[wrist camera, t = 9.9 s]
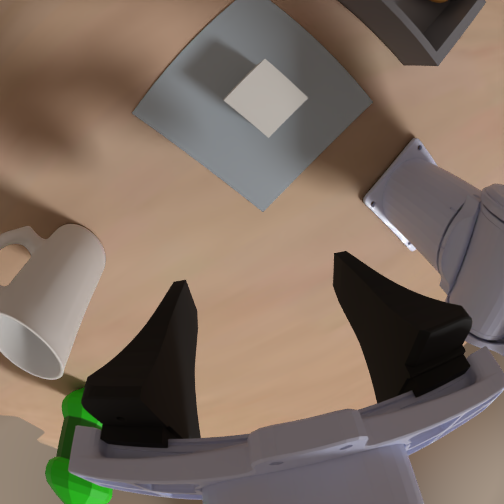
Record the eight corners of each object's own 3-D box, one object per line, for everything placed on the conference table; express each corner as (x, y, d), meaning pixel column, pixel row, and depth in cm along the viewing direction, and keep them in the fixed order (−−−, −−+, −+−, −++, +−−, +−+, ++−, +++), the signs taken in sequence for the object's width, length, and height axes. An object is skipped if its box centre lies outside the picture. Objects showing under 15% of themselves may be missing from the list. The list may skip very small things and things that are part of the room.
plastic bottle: (59, 388, 36) (35, 510, 15) (80, 372, 33) (53, 523, 12) (104, 413, 40) (93, 529, 19) (132, 401, 38) (123, 540, 17)
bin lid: (368, 101, 19) (401, 107, 15) (261, 208, 23) (271, 236, 19) (250, -10, 13) (258, -33, 9) (135, 112, 18) (112, 118, 14)
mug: (122, 259, 24) (80, 368, 14) (83, 291, 25) (43, 386, 15) (51, 179, 19) (-38, 255, 9) (19, 222, 20) (-50, 301, 10)
